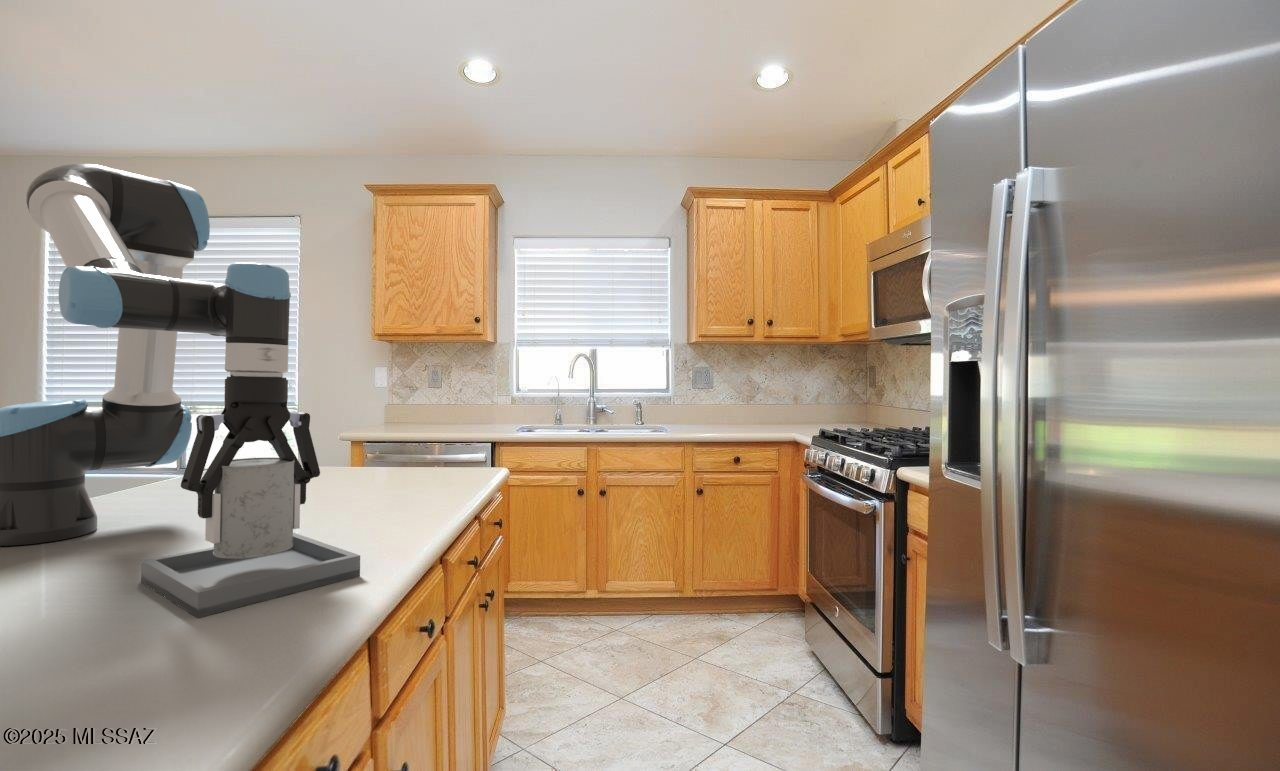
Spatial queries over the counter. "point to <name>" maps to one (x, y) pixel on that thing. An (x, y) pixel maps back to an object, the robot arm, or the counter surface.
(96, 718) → the counter surface
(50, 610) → the counter surface
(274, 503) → the speckled white tin can
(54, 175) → the robot arm
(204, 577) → the tray
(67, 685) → the counter surface
